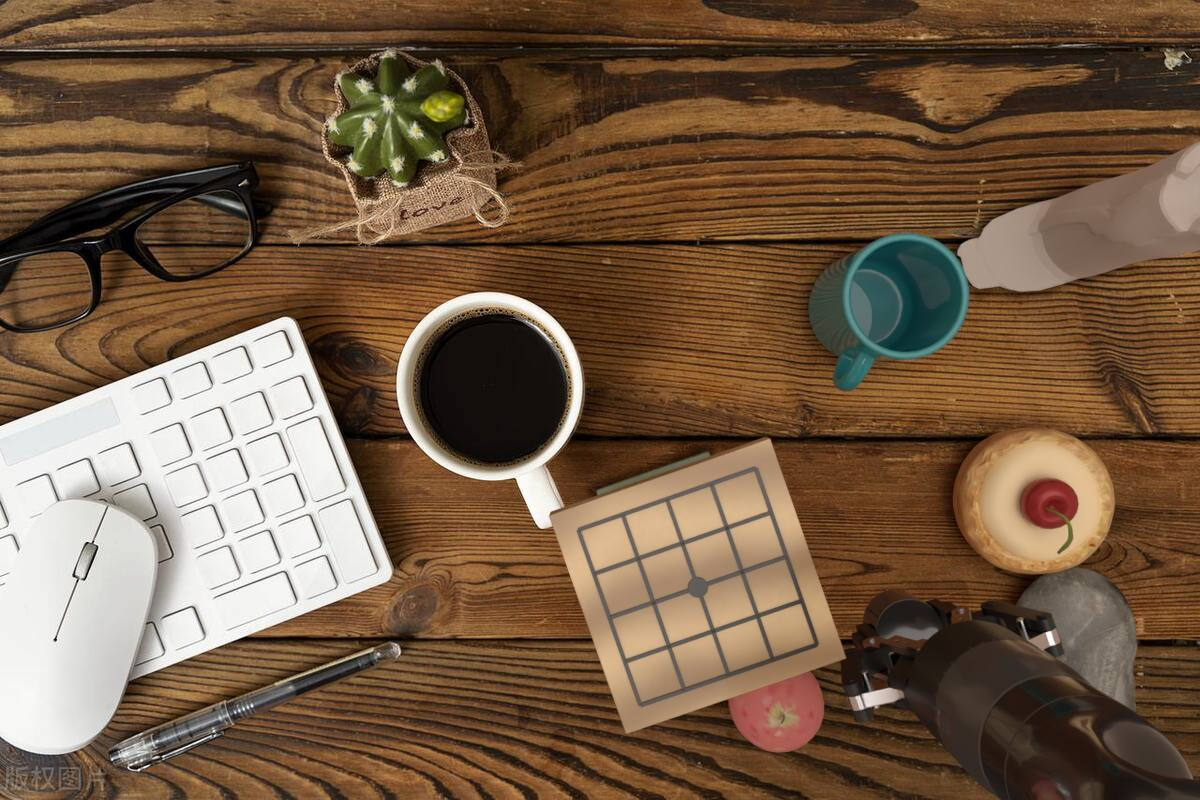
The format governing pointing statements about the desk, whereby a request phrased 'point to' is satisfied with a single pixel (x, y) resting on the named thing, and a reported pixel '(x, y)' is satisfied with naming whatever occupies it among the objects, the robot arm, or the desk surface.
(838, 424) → the desk surface
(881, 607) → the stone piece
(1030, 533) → the pastry
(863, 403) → the desk surface
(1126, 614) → the stone
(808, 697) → the apple
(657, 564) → the board
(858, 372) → the cup
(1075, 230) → the beige tapered piece
